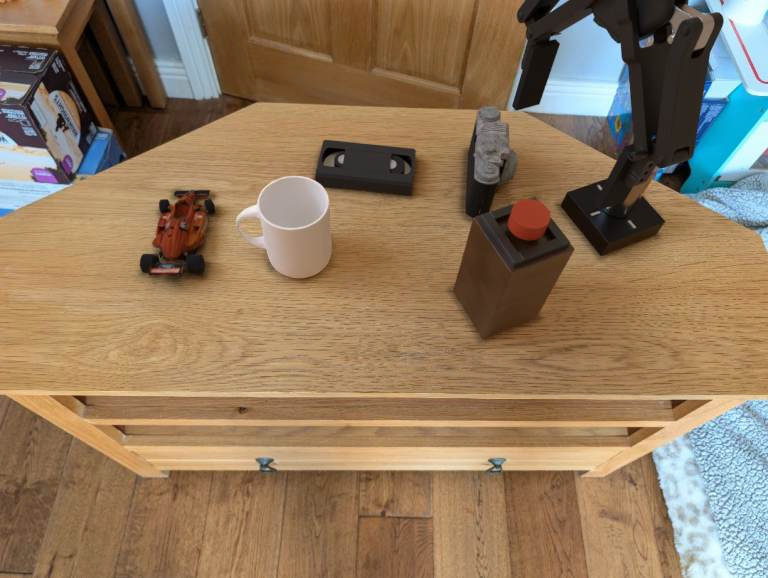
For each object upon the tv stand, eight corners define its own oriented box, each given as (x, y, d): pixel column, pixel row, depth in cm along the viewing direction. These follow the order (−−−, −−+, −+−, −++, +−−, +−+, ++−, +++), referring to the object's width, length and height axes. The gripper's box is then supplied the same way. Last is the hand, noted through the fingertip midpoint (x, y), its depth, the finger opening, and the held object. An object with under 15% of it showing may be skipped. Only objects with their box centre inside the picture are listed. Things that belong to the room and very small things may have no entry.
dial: (618, 191, 81) (647, 142, 73) (637, 212, 79) (669, 164, 71) (594, 199, 80) (620, 151, 72) (612, 222, 78) (642, 174, 70)
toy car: (221, 193, 81) (214, 171, 77) (201, 288, 72) (193, 269, 68) (166, 191, 81) (158, 170, 77) (140, 287, 72) (129, 267, 68)
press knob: (552, 233, 59) (558, 221, 57) (520, 245, 58) (525, 233, 56) (532, 207, 61) (537, 194, 59) (500, 217, 60) (504, 205, 58)
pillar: (536, 318, 72) (577, 244, 59) (482, 340, 70) (513, 268, 57) (504, 271, 76) (536, 191, 63) (452, 290, 74) (474, 212, 60)
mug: (248, 226, 78) (235, 171, 69) (334, 231, 78) (332, 177, 69) (238, 277, 73) (221, 226, 64) (329, 282, 74) (325, 231, 65)
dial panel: (656, 234, 81) (666, 220, 78) (600, 256, 78) (609, 242, 75) (614, 187, 85) (622, 172, 83) (560, 205, 83) (567, 191, 80)
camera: (509, 223, 80) (528, 174, 72) (462, 218, 81) (475, 168, 72) (508, 152, 88) (525, 100, 80) (466, 147, 89) (478, 95, 80)
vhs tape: (414, 158, 87) (416, 148, 85) (411, 196, 82) (412, 186, 81) (324, 149, 87) (323, 139, 85) (315, 186, 83) (315, 176, 81)
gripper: (516, -186, 38) (464, 79, 56) (788, 6, 26) (613, 266, 44) (604, -196, 40) (527, 63, 58) (896, -21, 28) (686, 238, 46)
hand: (564, 151), depth 51 cm, fingers open, 13 cm apart
